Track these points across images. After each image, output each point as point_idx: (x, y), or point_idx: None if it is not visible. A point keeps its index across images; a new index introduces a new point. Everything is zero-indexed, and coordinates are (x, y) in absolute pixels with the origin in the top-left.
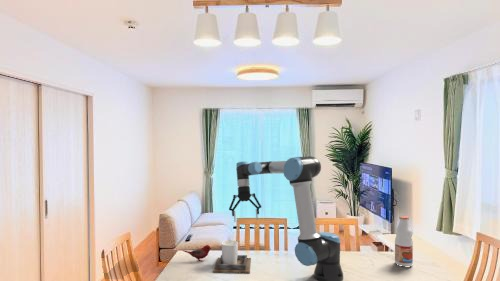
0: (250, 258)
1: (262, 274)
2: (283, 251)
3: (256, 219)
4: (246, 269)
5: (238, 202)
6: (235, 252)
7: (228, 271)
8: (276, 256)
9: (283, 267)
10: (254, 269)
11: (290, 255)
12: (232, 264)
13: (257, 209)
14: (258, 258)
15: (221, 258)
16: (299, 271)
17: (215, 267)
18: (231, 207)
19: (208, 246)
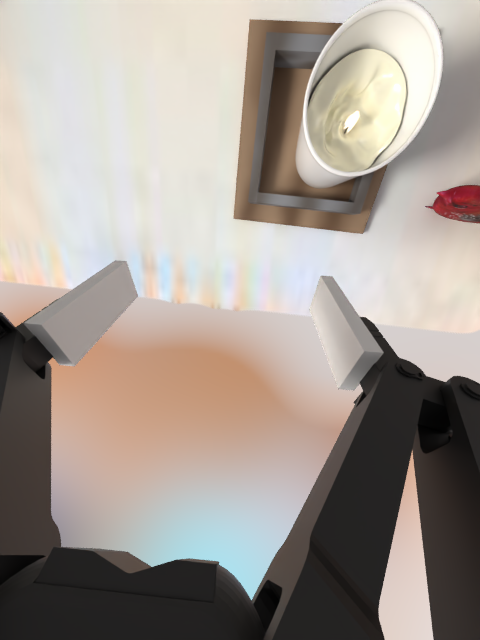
0: (235, 212)
1: (192, 12)
2: None
3: (123, 263)
4: (261, 57)
5: (340, 537)
6: (320, 80)
7: None
8: (148, 245)
9: (114, 118)
10: (226, 92)
11: (105, 250)
12: None
13: (29, 331)
14: (207, 229)
15: None
16: (48, 62)
17: None
18: (463, 416)
19: (471, 186)
